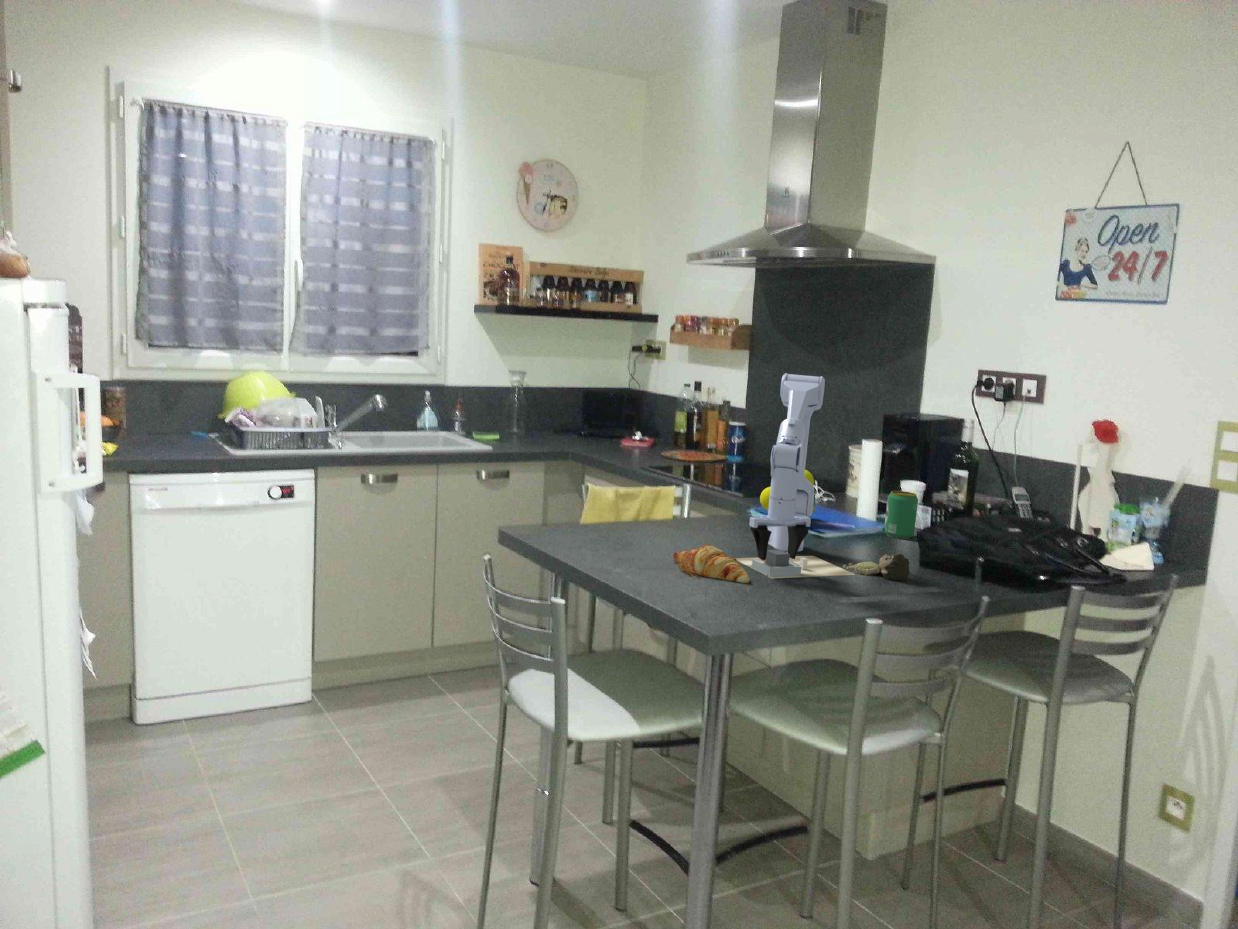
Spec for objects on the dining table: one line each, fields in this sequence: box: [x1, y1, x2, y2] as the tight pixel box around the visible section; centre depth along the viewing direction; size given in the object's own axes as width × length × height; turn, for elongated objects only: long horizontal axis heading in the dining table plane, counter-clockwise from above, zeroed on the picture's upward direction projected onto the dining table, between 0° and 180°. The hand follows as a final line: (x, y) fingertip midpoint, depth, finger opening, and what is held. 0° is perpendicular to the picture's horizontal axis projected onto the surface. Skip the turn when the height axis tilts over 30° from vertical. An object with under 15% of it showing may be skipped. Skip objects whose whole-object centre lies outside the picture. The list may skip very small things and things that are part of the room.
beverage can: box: [883, 490, 919, 540], centre depth 277 cm, size 8×8×12 cm
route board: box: [735, 555, 857, 579], centre depth 230 cm, size 17×22×1 cm
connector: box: [761, 549, 790, 567], centre depth 226 cm, size 8×4×4 cm, turn 23°
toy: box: [759, 469, 816, 514], centre depth 286 cm, size 16×17×15 cm
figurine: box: [842, 553, 911, 582], centre depth 229 cm, size 8×6×15 cm
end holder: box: [751, 559, 801, 578], centre depth 224 cm, size 8×8×2 cm
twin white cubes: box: [786, 551, 808, 570], centre depth 231 cm, size 7×1×2 cm, turn 23°
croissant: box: [672, 544, 751, 584], centre depth 220 cm, size 21×10×8 cm, turn 46°
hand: (776, 558), depth 224 cm, fingers open, 7 cm apart
